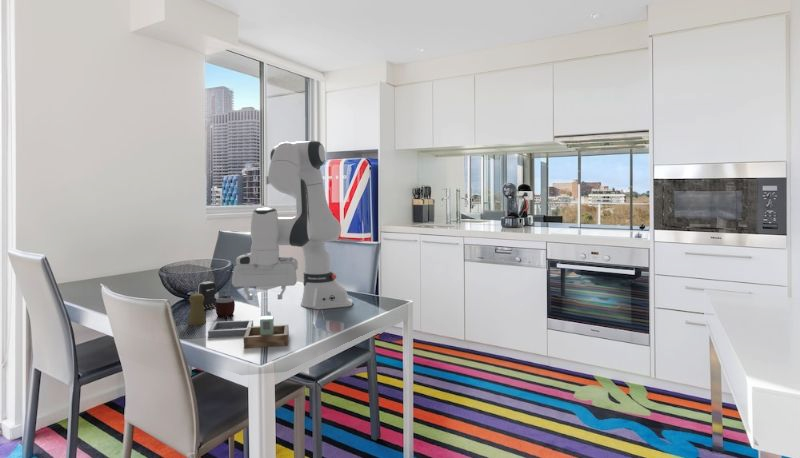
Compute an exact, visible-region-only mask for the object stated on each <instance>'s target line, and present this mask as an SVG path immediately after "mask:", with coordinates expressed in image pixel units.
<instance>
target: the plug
mask: <svg viewBox="0 0 800 458" xmlns="http://www.w3.org/2000/svg"><path fill="white" fill-rule="evenodd" d="M274 321H275V317H274V315H261V316H260V318H259V326H260V335H274V324H275V323H274Z"/></svg>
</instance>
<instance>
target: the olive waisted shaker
mask: <svg viewBox="0 0 800 458" xmlns="http://www.w3.org/2000/svg"><path fill="white" fill-rule="evenodd" d="M188 301H189V303H190V308H189V315H188V316H189V318H188V326H192V327H193V326H201V325H204V324H206V323H207V319H206V314H205V310H204V307H203V301H204V296H203V295H202V294H198V293H193V294H191V295H190V296H189V297H188Z"/></svg>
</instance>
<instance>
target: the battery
mask: <svg viewBox="0 0 800 458" xmlns="http://www.w3.org/2000/svg"><path fill="white" fill-rule="evenodd" d="M197 294H202V295H203V296H204V301H203V307H204V311H208V310H213V309H216V307H215V303H216V300H215V299H216V298H215V297H216V296H215V295H216V294H217V285H216V283H215V282H213V281H204V282H200V283H199V284H198V285H197Z"/></svg>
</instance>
